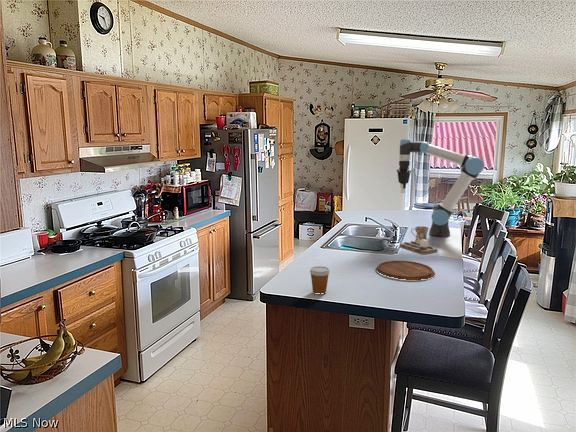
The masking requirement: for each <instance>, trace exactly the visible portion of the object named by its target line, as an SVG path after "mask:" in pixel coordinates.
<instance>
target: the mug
mask: <svg viewBox="0 0 576 432" xmlns="http://www.w3.org/2000/svg"><path fill="white" fill-rule="evenodd" d="M413 230H414V231H415V233H416V234H414V232H413ZM429 230H430V228H429V227H428V226H423V225H420V226H419V225H418V226H415V227H414V228H412V229H411V233H412V235H413V236H414V237H415V239H414V242H418V243H420V240H422V239H427V240H428V238H427V234H428V232H429Z"/></svg>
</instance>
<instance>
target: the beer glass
mask: <svg viewBox="0 0 576 432" xmlns="http://www.w3.org/2000/svg"><path fill="white" fill-rule="evenodd" d="M330 272H331V271H330V268H329V267H327V266H321V265H318V266H316V265H315V266H313V267H312V266H311V268H310V270H309V273H310V277H311V279H310V280H311V286H312V287H311V288H312V293H313V292H314V293H320V294H321V293H325V292H326V293H327V289H328V281H329V280H328V279H329V274H330ZM314 293H313V294H314ZM326 293H325V294H326Z"/></svg>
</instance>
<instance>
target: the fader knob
mask: <svg viewBox="0 0 576 432" xmlns="http://www.w3.org/2000/svg"><path fill="white" fill-rule="evenodd" d="M420 246H421V247H425V248H428V246H429V239H428V238H427V239H422V240H420Z"/></svg>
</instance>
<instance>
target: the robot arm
mask: <svg viewBox="0 0 576 432" xmlns="http://www.w3.org/2000/svg"><path fill="white" fill-rule="evenodd" d="M411 153H417V154H418V153H422V154H426V155H428V156H430V157H435V158H438V159H440V160H442V161H443V160H444V161H446V162H449V163H452V164H455V165H459V167H460V168H461V169H460V175H459V176H458V178H457V179H456V181H455V182H454V184H453V185H452V187H451V188H450V190H449V191H448V193H447V194H446V196H445V197H444V199H443V201H442V202H440V203H439V202H438V203H437V204H436V203H435V204H433V206H432V214H431V220H432V221H431V225H430V228H429V229H428V235H431V236H435V237H440V238H442V237H450V236H451V231H450V227H449V220H450V218H451V216H452V215H453V213H454V208H455V207H456V205H457V203H458V202H459V200H460V198H461V197H462V195H464V193H465V192H466V190H467V188H468V187H469V186H470V184H471V182H472V181H473V180H476V179H477V178H478V176H479V174H480V173H482V171H483V170H484V168H485V167H484V166H485V164H484V163H485V162H484V161H483V160H482V158H481V157H479V156H476V155H469V154H466V153H464V154H462V153H459V152H456V151H453V150H449V149H446V148H442V147H440V146H438V145H437V146H436V145H433V144H431V143H429V142H427V141H423V140H421V141H412V139H411V138H401V139H400V141H399V156H398V157H399V158H398V159H399V161H398V166H399V168H398V169H396V172H397V179H398V183H399V184H400V193H402V194H405V192H406V185H407V184H408V183H409V181H410V176H411V173H412V170H410V164H411V163H410V162H411V161H410V160H411Z"/></svg>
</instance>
